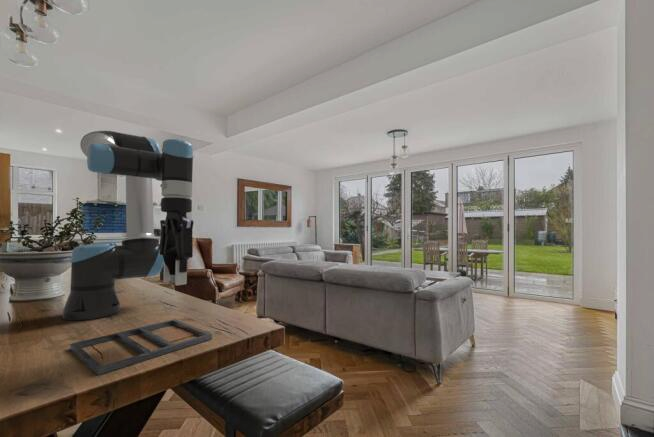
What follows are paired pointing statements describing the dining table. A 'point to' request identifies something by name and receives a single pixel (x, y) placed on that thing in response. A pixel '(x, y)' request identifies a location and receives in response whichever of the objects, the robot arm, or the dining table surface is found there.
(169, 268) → the light bulb
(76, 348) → the gray divided frame
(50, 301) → the dining table surface
